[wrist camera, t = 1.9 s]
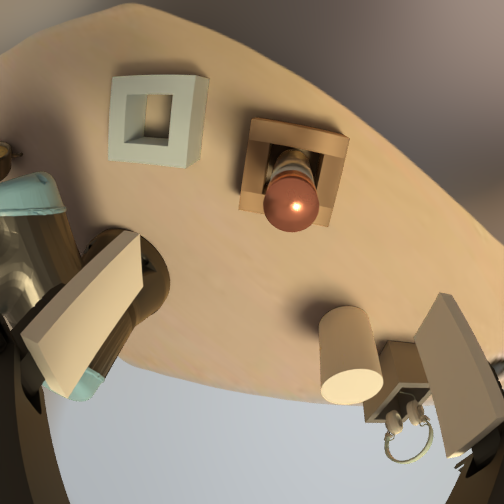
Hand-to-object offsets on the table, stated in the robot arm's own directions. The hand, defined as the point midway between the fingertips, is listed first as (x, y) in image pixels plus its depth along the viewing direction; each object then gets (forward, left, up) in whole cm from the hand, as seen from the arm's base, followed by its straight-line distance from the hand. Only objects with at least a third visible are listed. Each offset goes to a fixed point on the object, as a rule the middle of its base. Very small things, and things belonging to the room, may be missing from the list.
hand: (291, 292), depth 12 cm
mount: (0, 0, -24) cm, 24 cm away
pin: (0, 0, -24) cm, 24 cm away
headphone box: (+26, -30, -24) cm, 46 cm away
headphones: (+26, -30, -24) cm, 47 cm away
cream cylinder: (+13, -22, -24) cm, 35 cm away
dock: (-16, +4, -24) cm, 29 cm away
